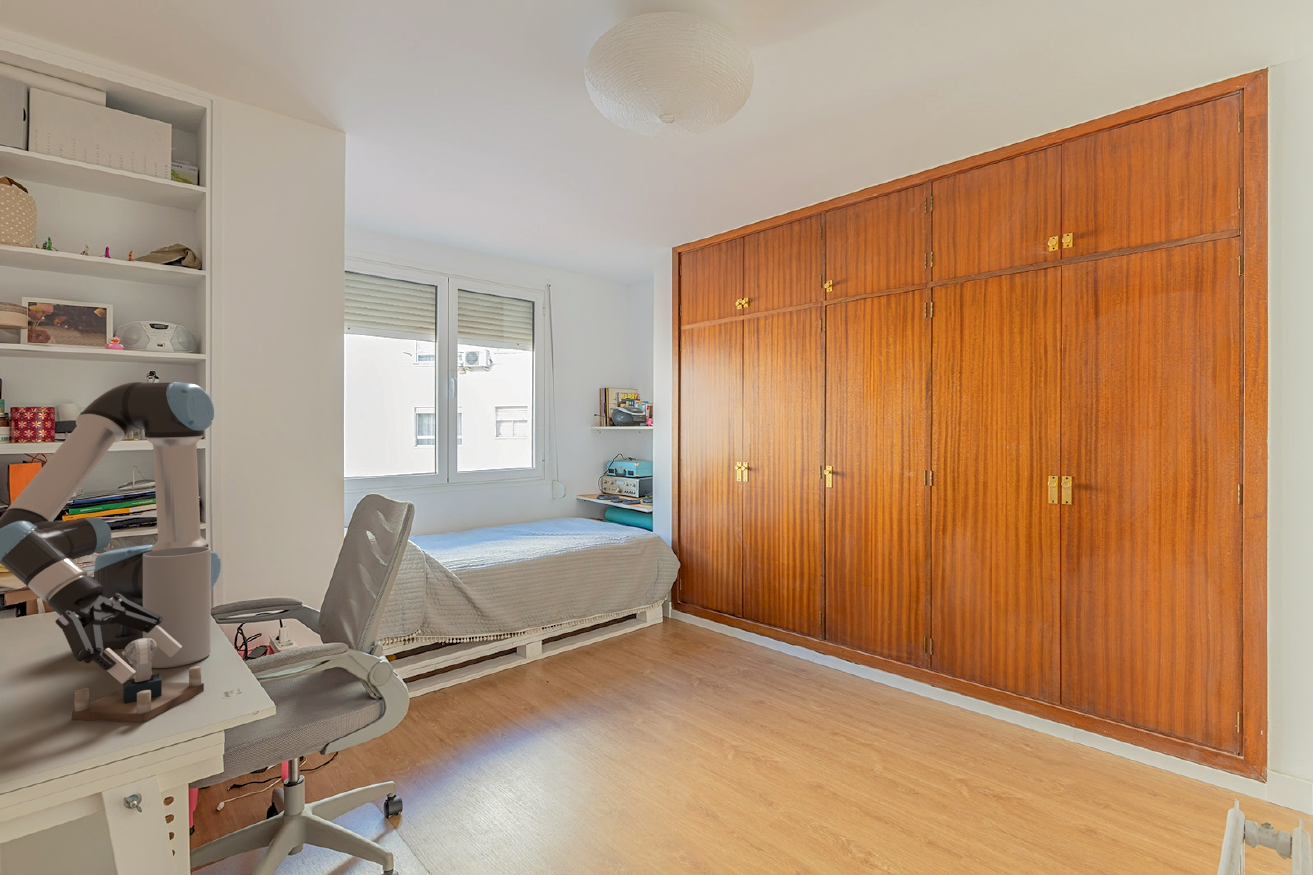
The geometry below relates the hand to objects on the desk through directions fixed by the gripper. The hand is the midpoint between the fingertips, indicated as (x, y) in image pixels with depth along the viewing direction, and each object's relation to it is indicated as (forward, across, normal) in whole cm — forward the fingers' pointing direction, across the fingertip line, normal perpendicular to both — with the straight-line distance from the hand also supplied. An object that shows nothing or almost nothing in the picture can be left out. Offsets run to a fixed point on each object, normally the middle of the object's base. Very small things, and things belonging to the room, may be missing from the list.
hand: (154, 664), depth 123 cm
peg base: (+4, 0, -7) cm, 8 cm away
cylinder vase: (-2, -25, -13) cm, 28 cm away
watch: (+3, 0, -6) cm, 7 cm away
